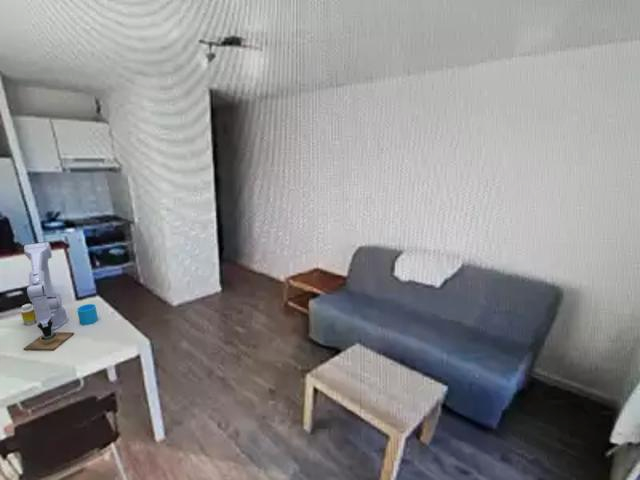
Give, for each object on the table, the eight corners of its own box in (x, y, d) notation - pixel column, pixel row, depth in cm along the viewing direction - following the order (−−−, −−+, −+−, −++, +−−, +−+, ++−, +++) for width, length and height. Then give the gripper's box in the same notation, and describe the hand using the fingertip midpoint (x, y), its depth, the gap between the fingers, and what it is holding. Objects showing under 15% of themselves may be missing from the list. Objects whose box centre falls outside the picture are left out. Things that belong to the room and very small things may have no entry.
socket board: (46, 333, 177) (46, 331, 177) (74, 334, 177) (73, 332, 176) (23, 350, 164) (23, 348, 163) (53, 350, 163) (53, 349, 163)
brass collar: (47, 336, 173) (47, 332, 173) (61, 336, 173) (60, 332, 172) (37, 344, 167) (36, 340, 166) (51, 344, 167) (50, 340, 166)
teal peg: (48, 335, 172) (45, 323, 170) (56, 336, 172) (53, 323, 169) (41, 340, 168) (38, 327, 166) (50, 340, 168) (46, 327, 166)
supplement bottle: (37, 323, 186) (33, 305, 183) (24, 326, 183) (19, 309, 180) (37, 319, 190) (33, 301, 187) (24, 322, 187) (19, 305, 184)
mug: (99, 321, 189) (97, 307, 186) (81, 327, 183) (78, 313, 181) (94, 313, 197) (91, 300, 195) (77, 318, 192) (74, 304, 189)
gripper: (53, 311, 162) (59, 337, 166) (51, 300, 173) (57, 324, 177) (33, 316, 158) (40, 343, 162) (32, 304, 168) (39, 329, 172)
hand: (48, 333), depth 169 cm, fingers closed on teal peg, 4 cm apart
